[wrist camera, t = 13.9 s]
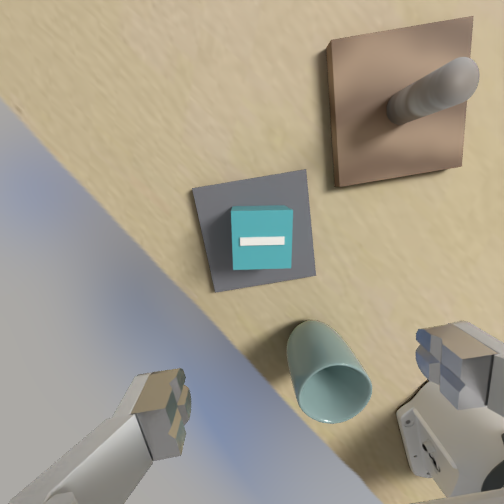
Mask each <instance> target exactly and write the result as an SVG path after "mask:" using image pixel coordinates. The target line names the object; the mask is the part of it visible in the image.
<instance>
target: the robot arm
mask: <svg viewBox="0 0 504 504" xmlns="http://www.w3.org/2000/svg"><path fill="white" fill-rule="evenodd" d="M416 340H417V341H418V342H419V344H420V345H419V347H418V348H417V350H416V361H417V364H418V367H419V369H420V370H421V372H422V373H423V375H424V376H425V377H426V378H427V379H428V380H429V382H428V383H427V384H425V385H424V386H423V387H422V388H421V389H420V390H419V392H418V393H417V394H416V396H415V397H414V398H413V399H412V400H411V401H410V402H408V403H406V404H405V405H403V406H402V407H401V408H400V409H399V410H398V411H397V413H396V416H397V420H398V423H399V427H400V431H401V435H402V439H403V443H404V447H405V451H406V455H407V458H408V462H409V466H410V469H411V470H412V472H413V473H414V474H415V475H417V476H420V477H425V478H433V479H434V481H435V482H436V484H437V485H438V487H439V488H440V489H441V491H442V492H443V494H444V495H445V496H446V497H447V498H441V499H435V500H429V501H423V502H417V503H411V504H504V343H503V342H501V341H500V340H498V339H496V338H495V337H493V336H491V335H490V334H488V333H486V332H485V331H483V330H481V329H480V328H478V327H476V326H475V325H473V324H471V323H470V322H466V321H459V322H454V323H449V324H446V325H440V326H434V327H428V328H422V329H418V331H417V333H416ZM185 378H186V377H185V374H184V371H183V369H181V368H179V369H172V370H165V371H158V372H152V373H145V374H139V375H137V376H136V377H134V379H133V381H132V383H131V385H130V386H129V388H128V390H127V392H126V394H125V395H124V397H123V399H122V400H121V402H120V404H119V406H118V408H117V410H116V411H115V413H114V415H113V417H112V418H109V419H106V420H105V421H104V422H102V423H101V424H100V425H99V426H98V427H96V428H95V429H94V430H93V431H92V432H91V433H89V434H88V435H87V436H86V437H85V438H83V439H82V440H81V441H80V442H79V443H78V444H76V445H75V446H74V447H73V448H72V449H70V450H69V451H68V452H67V453H66V454H65V455H63V456H62V457H61V458H60V459H59V460H57V461H56V462H55V463H54V464H53V465H52V466H50V467H49V468H48V469H47V470H46V471H44V472H43V473H42V474H41V475H40V476H38V477H37V478H36V479H35V480H34V481H33V482H32V483H30V484H29V485H28V486H27V487H25V488H24V489H23V490H22V491H21V492H20V493H18V494H17V495H16V496H15V497H14V498H12V499H11V501H10V502H9V503H8V504H124V503H125V501H126V500H127V499H128V497H129V496H130V495H131V493H132V492H133V490H134V489H135V487H136V486H137V485H138V483H139V482H140V480H141V479H142V478H143V476H144V475H145V473H146V472H147V470H148V469H149V468H150V467H151V465H152V464H153V462H152V461H156V460H161V459H166V458H171V457H177V456H181V454H182V449H183V445H184V441H185V435H186V431H185V428H184V425H185V424H186V423H187V422H188V420H189V418H190V413H191V396H190V391H189V388H188V387H187V386H185V385H184V382H185Z"/></svg>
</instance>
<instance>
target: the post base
mask: <svg viewBox="0 0 504 504" xmlns="http://www.w3.org/2000/svg"><path fill="white" fill-rule="evenodd" d="M472 28H473V16H470V17H464V18H458V19H452V20H446V21H440V22H434V23H428V24H423V25H417V26H411V27H405V28H399V29H393V30H387V31H381V32H375V33H369V34H363V35H357V36H351V37H345V38H340V39H334V40H331V41H330V43H329V44H328V46H327V48H326V54H327V69H328V85H329V101H330V117H331V133H332V149H333V165H334V181H335V187H342V186H348V185H354V184H360V183H366V182H372V181H378V180H384V179H390V178H396V177H402V176H408V175H414V174H420V173H426V172H432V171H438V170H444V169H450V168H456V167H461V166H462V157H463V144H464V131H465V118H466V105H467V100H468V99H469V98H470V97H471V96H472V95H473V93H474V92H475V90H476V88H477V86H478V83H479V69H478V66H477V64H476V63H475V61H473V60H472V59H471V58H470V54H471V41H472Z"/></svg>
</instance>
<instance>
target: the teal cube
mask: <svg viewBox="0 0 504 504" xmlns="http://www.w3.org/2000/svg"><path fill="white" fill-rule="evenodd" d="M231 225H232V252H233V270H250V269H285V268H291V259H292V229H293V210H292V209H290V208H289V207H287V206H285V205H271V206H233V207H232V209H231Z"/></svg>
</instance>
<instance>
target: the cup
mask: <svg viewBox="0 0 504 504" xmlns="http://www.w3.org/2000/svg"><path fill="white" fill-rule="evenodd" d="M286 350H287V362H288V368H289V372H290V376H291V380H292V384H293V388H294V392H295V395H296V398H297V401H298V404H299V406H300V408H301V409H302V411H303V412H304V413H305V414H306V415H308V416H309V417H311V418H312V419H314V420H317V421H319V422H323V423H330V424H334V423H341V422H344V421H347V420H349V419H351V418H353V417H354V416H356V415H357V414H358V413H359V412H360V411H362V410H363V408H364V407H365V406H366V405H367V403H368V401H369V400H370V397H371V394H372V384H371V380H370V378H369V376H368V375H367V373H366V371H365V369H364V368H363V366H362V365H361V363H360V362H359V360H358V359H357V357H356V356H355V354H354V353H353V351H352V350H351V348H350V347H349V346H348V344H347V343H346V342H345V340H344V339H343V338H342V337H341V336H340V335H339V334H338V333H337V331H335V330H334V329H333V328H332V327H330V326H329V325H327V324H325V323H323V322H320V321H316V320H308V321H305V322H302V323H300V324H299V325H298V326H296V327H295V328H294V330H293V331H292V332H291V334H290V336H289V338H288V342H287V348H286Z"/></svg>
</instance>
